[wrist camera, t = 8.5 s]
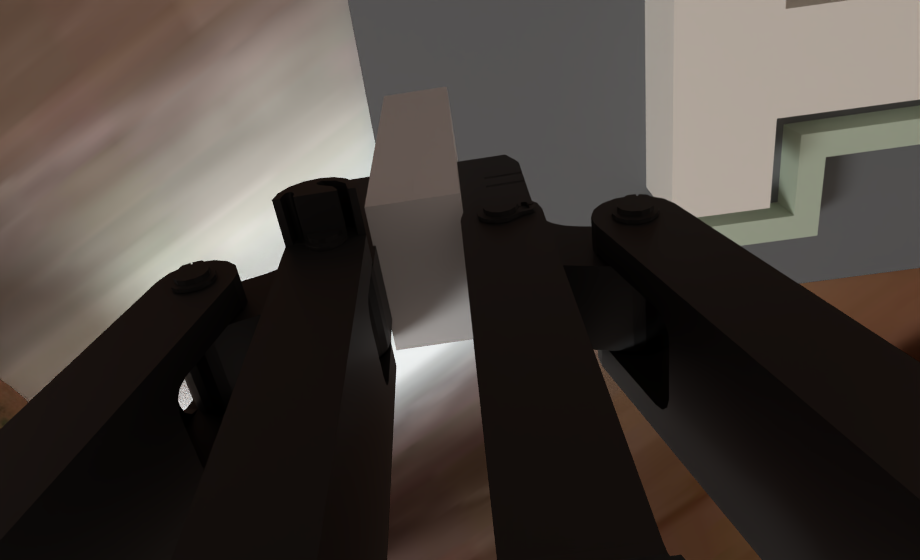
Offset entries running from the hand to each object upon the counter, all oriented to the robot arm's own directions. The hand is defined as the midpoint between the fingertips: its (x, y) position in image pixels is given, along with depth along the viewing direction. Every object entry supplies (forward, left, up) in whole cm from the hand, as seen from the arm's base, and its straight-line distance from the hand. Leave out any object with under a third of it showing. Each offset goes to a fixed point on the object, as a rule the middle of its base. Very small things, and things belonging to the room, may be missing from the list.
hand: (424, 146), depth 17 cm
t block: (+1, +13, -10) cm, 17 cm away
